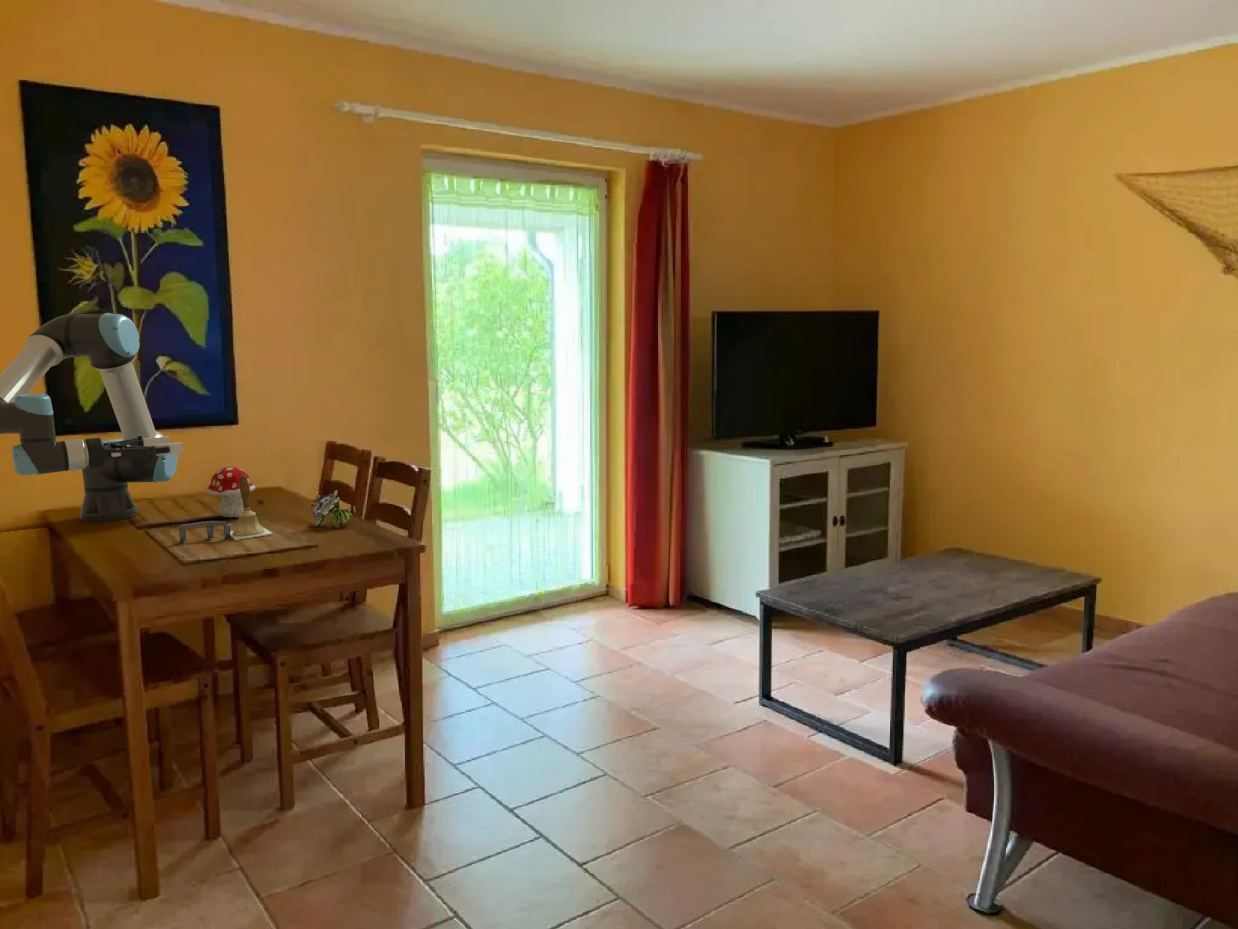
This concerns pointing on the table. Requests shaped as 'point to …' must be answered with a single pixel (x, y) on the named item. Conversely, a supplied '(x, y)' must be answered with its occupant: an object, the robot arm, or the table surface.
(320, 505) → the passion flower
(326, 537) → the table surface
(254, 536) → the pad
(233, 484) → the decorative mushroom
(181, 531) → the gray stand
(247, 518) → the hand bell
